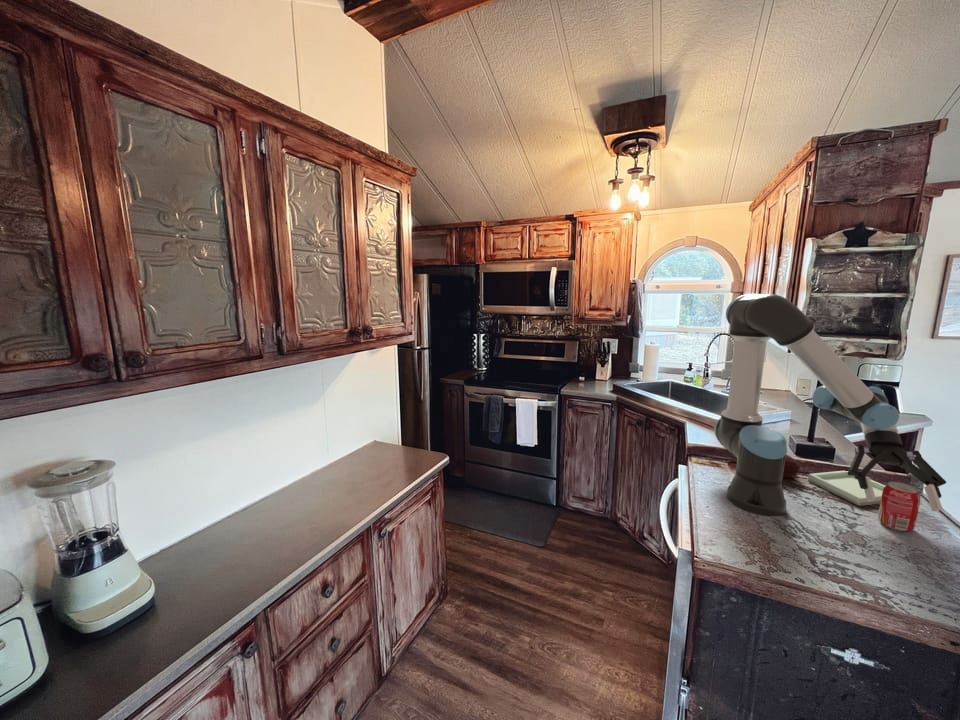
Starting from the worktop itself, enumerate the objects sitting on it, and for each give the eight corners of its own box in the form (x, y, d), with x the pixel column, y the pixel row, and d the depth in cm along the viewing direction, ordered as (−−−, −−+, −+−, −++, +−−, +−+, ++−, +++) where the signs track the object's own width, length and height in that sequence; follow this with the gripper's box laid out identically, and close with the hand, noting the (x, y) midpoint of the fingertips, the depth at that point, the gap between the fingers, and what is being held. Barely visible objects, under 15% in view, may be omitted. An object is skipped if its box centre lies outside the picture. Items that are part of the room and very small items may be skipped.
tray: (858, 505, 116) (860, 498, 116) (807, 480, 132) (808, 473, 132) (902, 501, 118) (904, 493, 118) (847, 476, 134) (848, 470, 134)
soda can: (896, 519, 110) (904, 480, 107) (922, 534, 103) (930, 493, 101) (869, 518, 110) (876, 480, 108) (893, 533, 103) (901, 493, 101)
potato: (806, 482, 131) (809, 459, 130) (777, 484, 130) (780, 462, 128) (777, 467, 142) (779, 446, 141) (750, 469, 141) (752, 448, 139)
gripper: (928, 444, 114) (957, 517, 103) (824, 434, 123) (840, 500, 112) (945, 434, 108) (977, 510, 97) (834, 424, 117) (852, 493, 107)
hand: (903, 505), depth 105 cm, fingers open, 13 cm apart
